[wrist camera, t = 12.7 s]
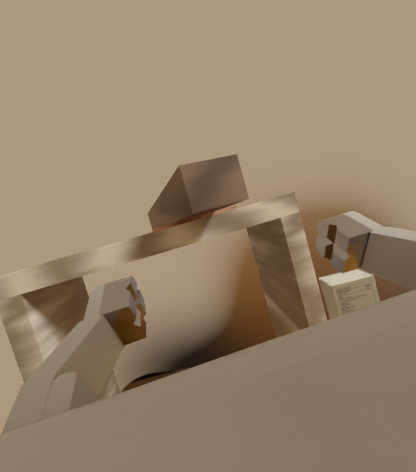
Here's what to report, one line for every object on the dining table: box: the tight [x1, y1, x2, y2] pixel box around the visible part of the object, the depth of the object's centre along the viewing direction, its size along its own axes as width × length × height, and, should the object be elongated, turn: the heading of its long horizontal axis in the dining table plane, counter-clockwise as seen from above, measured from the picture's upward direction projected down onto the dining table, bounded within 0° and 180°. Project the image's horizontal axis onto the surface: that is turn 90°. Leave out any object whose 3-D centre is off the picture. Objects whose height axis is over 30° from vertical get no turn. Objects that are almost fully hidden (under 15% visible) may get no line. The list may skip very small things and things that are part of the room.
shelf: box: [0, 193, 327, 399], centre depth 28 cm, size 28×12×26 cm, turn 98°
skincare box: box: [319, 269, 380, 319], centre depth 35 cm, size 6×4×12 cm
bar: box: [148, 155, 249, 229], centre depth 26 cm, size 4×24×3 cm, turn 20°
